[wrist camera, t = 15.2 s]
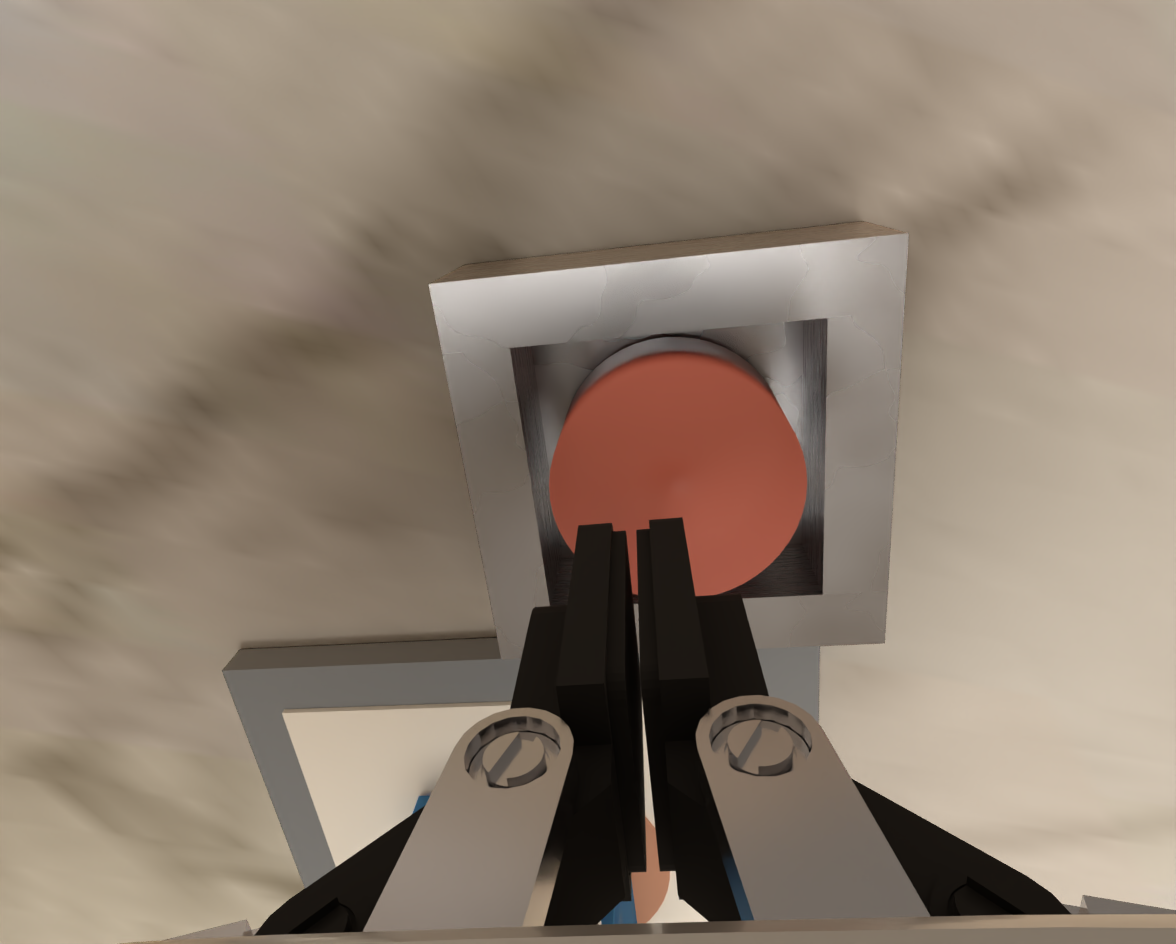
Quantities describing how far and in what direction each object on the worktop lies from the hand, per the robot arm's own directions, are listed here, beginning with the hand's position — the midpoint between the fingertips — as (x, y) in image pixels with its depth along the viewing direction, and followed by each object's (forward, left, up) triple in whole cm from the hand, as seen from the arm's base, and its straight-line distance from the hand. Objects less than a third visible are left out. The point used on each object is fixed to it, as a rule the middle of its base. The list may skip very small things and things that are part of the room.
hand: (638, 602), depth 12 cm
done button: (+1, 0, -6) cm, 6 cm away
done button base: (+1, 0, -7) cm, 7 cm away
